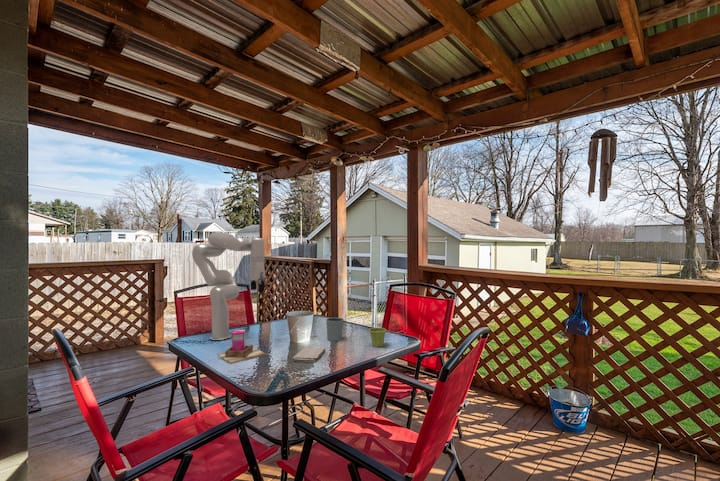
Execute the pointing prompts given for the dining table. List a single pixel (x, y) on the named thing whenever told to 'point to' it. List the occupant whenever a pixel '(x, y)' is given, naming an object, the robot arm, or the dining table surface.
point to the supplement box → (238, 340)
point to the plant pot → (377, 336)
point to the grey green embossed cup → (334, 329)
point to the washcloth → (309, 355)
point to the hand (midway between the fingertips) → (257, 290)
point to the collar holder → (241, 354)
